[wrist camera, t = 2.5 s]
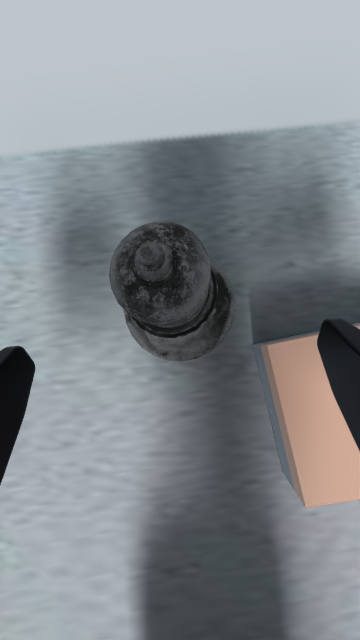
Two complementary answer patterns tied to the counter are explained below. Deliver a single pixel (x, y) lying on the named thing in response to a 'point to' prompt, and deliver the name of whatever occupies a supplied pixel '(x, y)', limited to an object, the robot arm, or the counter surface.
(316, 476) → the peach and grey block
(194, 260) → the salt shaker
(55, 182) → the counter surface
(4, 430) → the robot arm
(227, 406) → the counter surface
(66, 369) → the counter surface
